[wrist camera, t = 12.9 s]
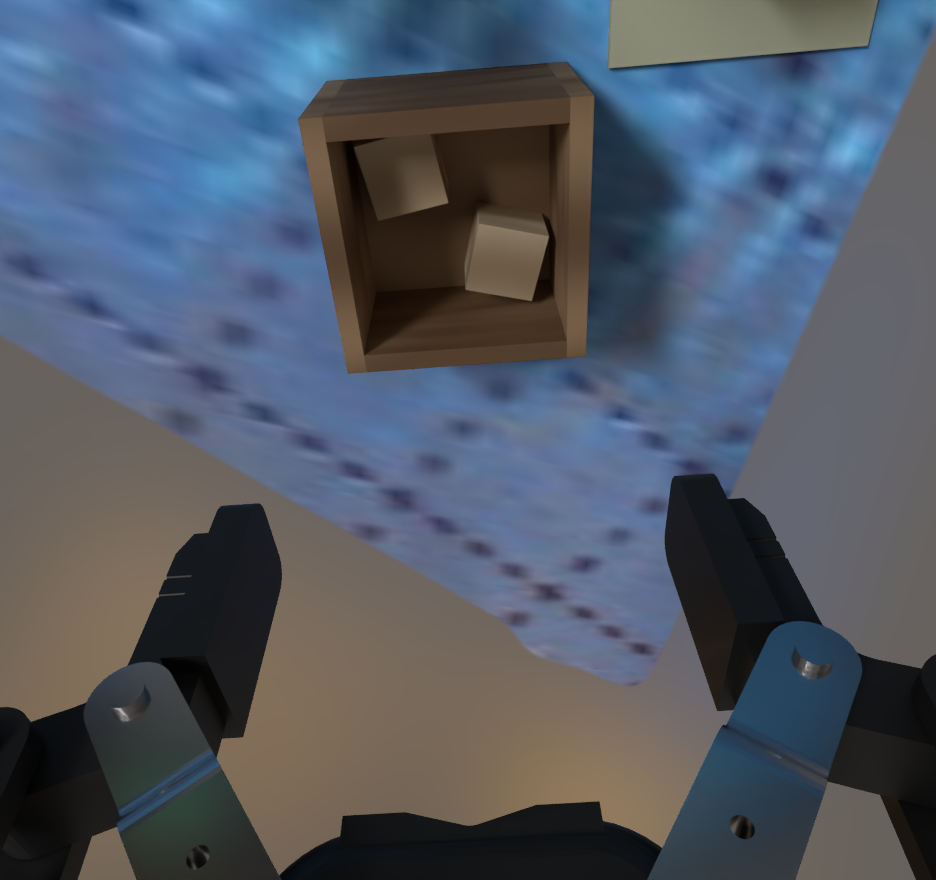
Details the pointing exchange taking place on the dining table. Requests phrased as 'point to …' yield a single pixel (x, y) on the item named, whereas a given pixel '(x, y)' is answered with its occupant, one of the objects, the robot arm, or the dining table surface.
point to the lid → (731, 28)
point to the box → (455, 214)
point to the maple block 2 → (505, 251)
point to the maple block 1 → (403, 173)
